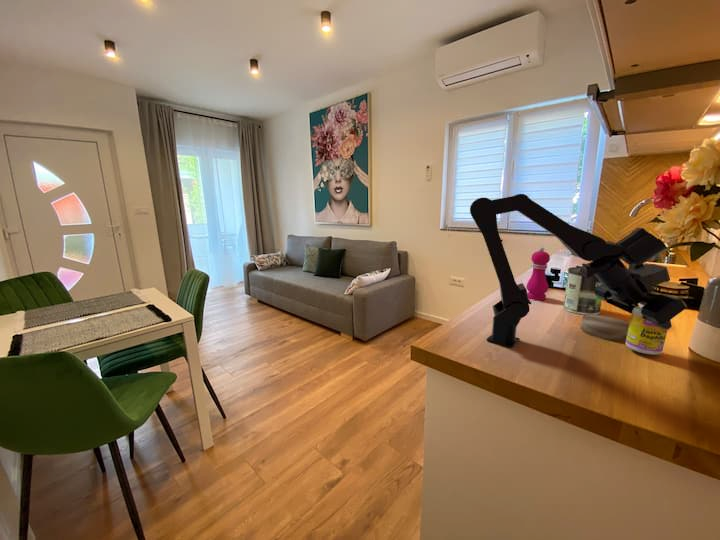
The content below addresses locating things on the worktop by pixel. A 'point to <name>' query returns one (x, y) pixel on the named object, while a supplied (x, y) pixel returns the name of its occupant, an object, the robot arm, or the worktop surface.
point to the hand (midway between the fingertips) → (655, 322)
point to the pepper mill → (538, 276)
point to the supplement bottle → (645, 334)
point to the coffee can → (581, 293)
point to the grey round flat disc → (605, 327)
